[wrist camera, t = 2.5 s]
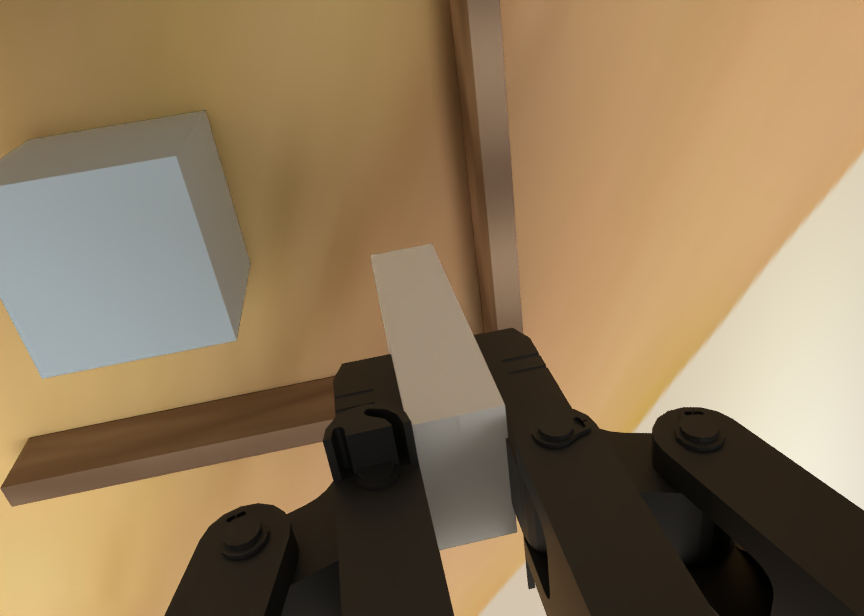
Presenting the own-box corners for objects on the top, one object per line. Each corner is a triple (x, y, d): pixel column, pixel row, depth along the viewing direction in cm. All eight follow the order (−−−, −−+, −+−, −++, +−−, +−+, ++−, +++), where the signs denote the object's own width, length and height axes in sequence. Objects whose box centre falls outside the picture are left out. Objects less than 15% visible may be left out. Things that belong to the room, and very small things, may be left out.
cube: (29, 139, 23) (-54, 195, 17) (205, 109, 23) (175, 155, 18) (96, 291, 25) (42, 378, 20) (250, 262, 26) (236, 340, 21)
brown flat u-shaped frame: (-260, -75, 19) (-352, -79, 16) (463, -173, 20) (486, -191, 18) (39, 455, 28) (11, 506, 26) (508, 359, 30) (527, 398, 28)
